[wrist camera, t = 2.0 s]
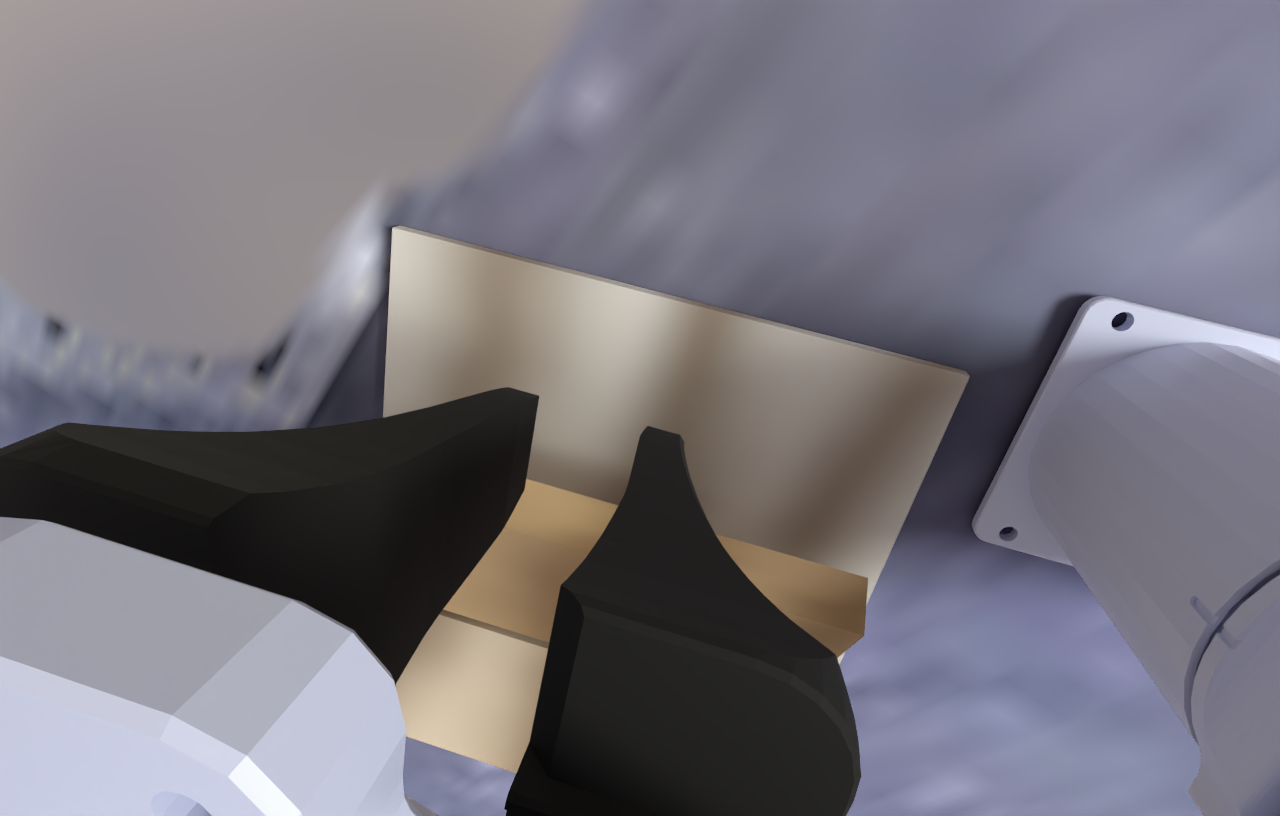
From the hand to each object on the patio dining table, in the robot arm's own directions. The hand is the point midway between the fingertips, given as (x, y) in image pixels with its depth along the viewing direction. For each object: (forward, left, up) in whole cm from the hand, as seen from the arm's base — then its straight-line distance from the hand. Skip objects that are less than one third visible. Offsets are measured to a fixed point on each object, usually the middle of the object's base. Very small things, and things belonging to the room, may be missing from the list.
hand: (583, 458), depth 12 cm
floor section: (0, +9, -9) cm, 13 cm away
